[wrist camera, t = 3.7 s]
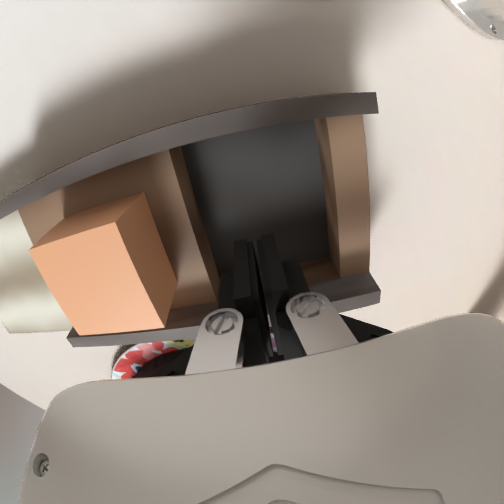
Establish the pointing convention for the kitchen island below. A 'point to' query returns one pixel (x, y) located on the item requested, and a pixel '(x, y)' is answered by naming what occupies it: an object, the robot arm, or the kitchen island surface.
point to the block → (108, 268)
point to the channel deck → (212, 208)
